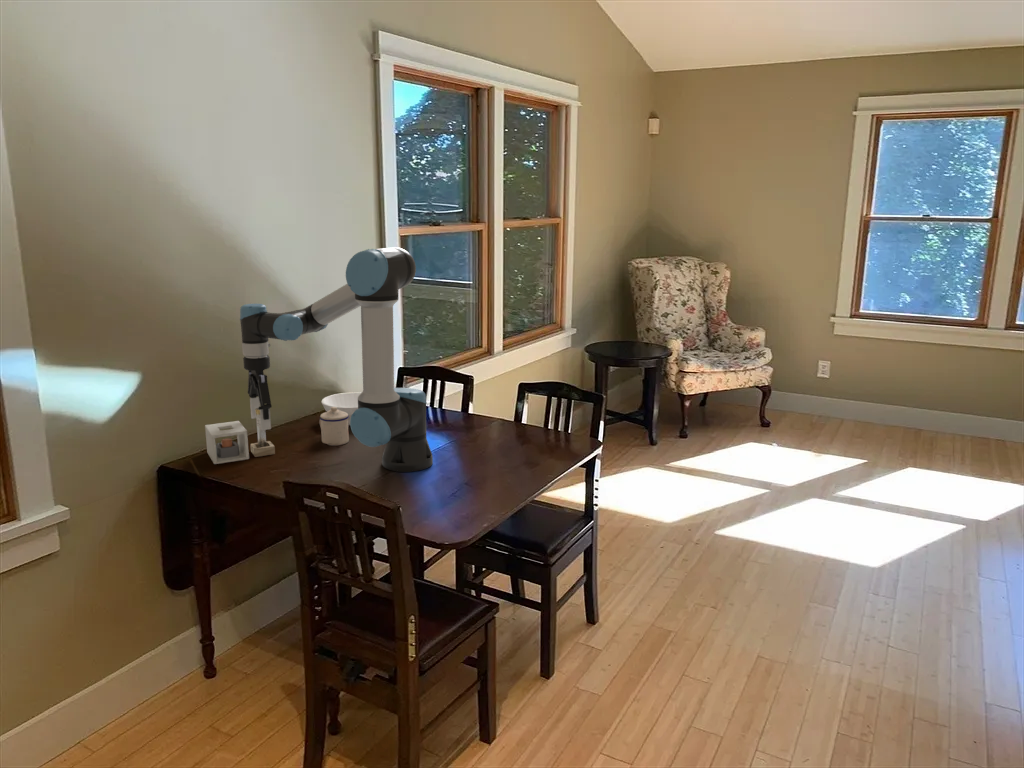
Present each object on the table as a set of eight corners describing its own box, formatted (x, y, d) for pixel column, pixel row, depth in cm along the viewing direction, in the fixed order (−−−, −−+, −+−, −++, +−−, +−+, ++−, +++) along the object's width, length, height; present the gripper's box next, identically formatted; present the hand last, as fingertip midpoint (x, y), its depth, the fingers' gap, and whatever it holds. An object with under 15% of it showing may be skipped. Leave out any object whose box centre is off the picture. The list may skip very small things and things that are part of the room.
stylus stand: (275, 455, 243) (274, 446, 242) (255, 458, 240) (254, 449, 239) (270, 450, 248) (269, 440, 247) (250, 452, 245) (250, 443, 244)
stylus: (267, 452, 243) (264, 409, 240) (259, 454, 242) (256, 410, 239) (266, 450, 245) (263, 407, 242) (257, 451, 244) (254, 408, 241)
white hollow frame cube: (249, 460, 238) (247, 430, 236) (214, 465, 233) (211, 435, 231) (240, 449, 248) (238, 420, 246) (207, 454, 243) (204, 425, 241)
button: (233, 452, 240) (232, 440, 239) (223, 454, 238) (222, 441, 237) (231, 450, 242) (230, 437, 241) (221, 451, 241) (220, 439, 240)
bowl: (350, 434, 265) (349, 411, 263) (309, 422, 277) (308, 400, 275) (395, 420, 281) (394, 398, 279) (355, 410, 293) (354, 389, 291)
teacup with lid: (355, 441, 257) (354, 407, 255) (332, 448, 251) (331, 412, 248) (332, 434, 265) (330, 400, 262) (309, 440, 258) (308, 406, 255)
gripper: (279, 362, 228) (283, 432, 233) (259, 347, 249) (263, 411, 254) (252, 364, 224) (257, 436, 229) (234, 349, 245) (239, 415, 250)
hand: (260, 423), depth 242 cm, fingers open, 13 cm apart
